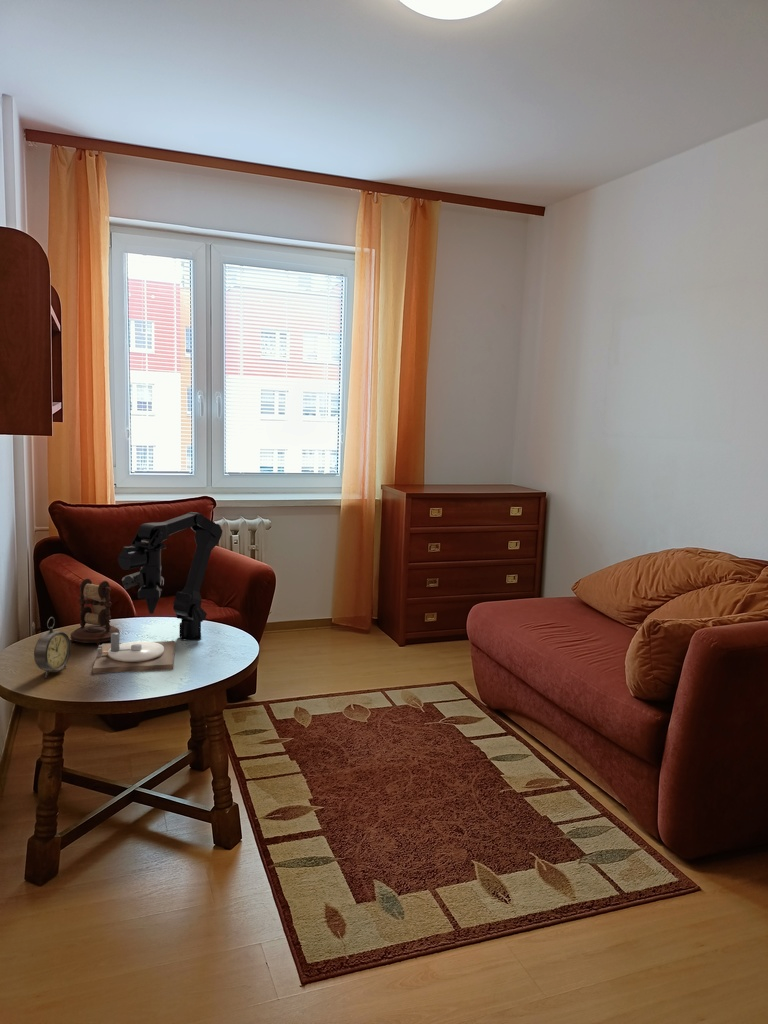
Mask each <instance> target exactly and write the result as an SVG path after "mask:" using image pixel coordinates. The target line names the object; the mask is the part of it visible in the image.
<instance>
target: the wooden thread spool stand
mask: <svg viewBox="0 0 768 1024" xmlns="http://www.w3.org/2000/svg"><path fill="white" fill-rule="evenodd" d="M78 588H79V593H80V594H79V599H78V603H79V606H80V608H79V611H80V612H79V614H78V615H79V620H80V623H79V625H80V627H78V628H75V630H73V631H71V633H70V641H71V642H72V643H75V642H78V643H86V644H87V643H89V644H91V643H92V644H93V643H96V646H97V647H99V645H101V643H102V642H109V641H111V633H119V636H121V635H120V629H119V628H118V627H115V626H114V625H111V624H110V623H111V619H112V616H111V610H110V608H111V607H112V602H111V601H110V600H111V597H110V595H111V593H110V592H112V591H111V590H112V588H111V587H110V583H109V582H108V581H107V580H102V581H101V582H100V583H99V584H94V583H92V580H91V579H90V578H84V579H83V580H82V582H80V584H79V586H78ZM85 605H91V606H92V608H91V607H90V606H85ZM86 624H88V625H86Z"/></svg>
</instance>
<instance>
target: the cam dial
mask: <svg viewBox="0 0 768 1024" xmlns="http://www.w3.org/2000/svg"><path fill="white" fill-rule="evenodd" d="M155 642H156V641H144V640H143V641H142V640H141V641H139V640H137V641H129V642H121V643H122V644H119V643H120V635H119V633H111V640H110V643H111V648H110V649H109V650H108V651H103V654H104V653H108V656H109V657H110V658H111V659H113V660H117V661H124V662H138V661H146V660H150V659H154V658H157V657H159V656H161V655H162V654H163V653H164V647H163V646H162V645H161V644H159V643H155Z"/></svg>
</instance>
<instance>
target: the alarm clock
mask: <svg viewBox="0 0 768 1024" xmlns="http://www.w3.org/2000/svg"><path fill="white" fill-rule="evenodd" d="M51 619H52V620H53V624H52V626H50V627H49V622H50V620H51ZM55 623H56V620H55V618H54V617H53V616H50V617H49V618H48V620H47V622H46V626H47V627H46V628H47V629H49V631H46V632H44V633H42V634H41V635H40V636H39V638H38V639H37V641H36V642H35V646H34V650H33V658H34V662H35V664H36V666H37V667H38V669H40V670H41V671H44V672H45V675H44V679H47V678H48V675H49V672H59V671H60V670H62V669H63V668H65V669H66V668H67V666H66V665H67V664H68V662H69V659H70V657H71V651H72V643H71V638H70V637H69V635H68V633H66V632H64V631H54V629H53V628H54V626H55Z"/></svg>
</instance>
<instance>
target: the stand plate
mask: <svg viewBox="0 0 768 1024" xmlns="http://www.w3.org/2000/svg"><path fill="white" fill-rule="evenodd" d="M154 642H155V643H159V644H161V645H162V646H163V647H164V653H163V654H162V655H161V656H159V657H157V658H154V659H150V660H146V661H138V662H124V661H117V660H113V659H111V658H110V657H109V656H108V653H104V654H103V651H108V650H109V649H110V648H111V642H109V643H102V644H100V645H99V646H98V647H97V649H96V650H97V656H96V658H95V661H94V664H93V666H92V674H103V673H125V672H129V673H130V672H144V671H146V672H147V671H163V670H164V671H166V670H167V671H168V670H174V667H175V666H174V664H175V653H174V652H175V651H176V649H175V648H176V640H167V641H166V640H165V641H163V640H161V641H154ZM122 643H123V642H119V644H122Z"/></svg>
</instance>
